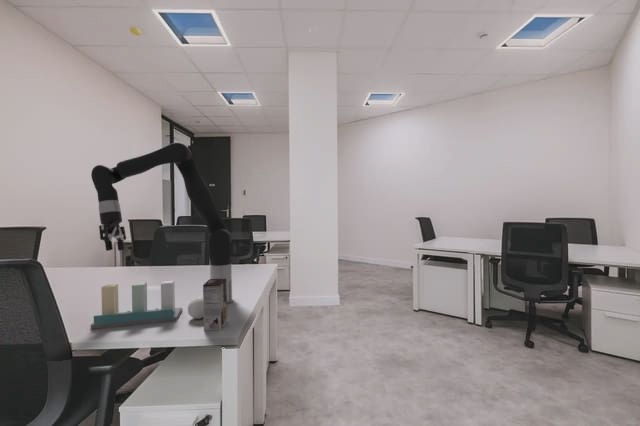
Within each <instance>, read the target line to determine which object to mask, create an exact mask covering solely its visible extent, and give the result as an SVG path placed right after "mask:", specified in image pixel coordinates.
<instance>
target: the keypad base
mask: <svg viewBox="0 0 640 426" xmlns="http://www.w3.org/2000/svg"><path fill="white" fill-rule="evenodd" d="M182 312H183V307H175V311H174V312H173V309H168V310H161V308H154V309H147V311H145V312H133V313H132V310H126V311H125V312H119V314H109V315H102V314H100V315H99V314H98V315H93V323H91V324H90V330H94V329H107V328H116V327H118V328H119V327H127V326H137V325H151V324H159V323H161V324H162V323H169V322H171V323H172V322H177V320H178V319H179V317H180V315H181V314H182Z"/></svg>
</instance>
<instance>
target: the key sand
mask: <svg viewBox="0 0 640 426" xmlns="http://www.w3.org/2000/svg"><path fill="white" fill-rule="evenodd" d="M119 311H120V310H119V284H117V283H116V284H105V285H104V286H102V287H101V315H109V314H119V313H120V312H119Z"/></svg>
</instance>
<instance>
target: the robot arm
mask: <svg viewBox="0 0 640 426" xmlns="http://www.w3.org/2000/svg"><path fill="white" fill-rule="evenodd" d="M167 164H175V166H176V168H177V169H178V171H179V172H180V174H181V176H182V178H183V183H184V186H185V191H186V195H187V196H188V199H189V200H190V201H189V202H191V204H192V206H193V208H194V210H195V211H196V213H197V214H198V215H199V217H200V218H201V219H202V221H203V222H204V223H205V225H206V227H207V229H208V233H209V236H208V257H209V263H210V264H209V266H210V267H209V269H210V270H209V272H210V273H209V275H210V278H209V279H226V285H227V304H229V303H233V279H232V278H233V277H232V254H231V243H232V241H233V240H232V234H231V232H230V231H229V228H228V227H227V226H226V224H225V223H224V221H223V219H222V217H221V216H220V212H219V210H218V207H217V205H216V203H215V200H214V197H213V196H212V193H211V192H210V189H209V188H208V185H207V184H206V182H205V180H204V179H203V177H202V174H201V173H200V171H199V169H198V167H197V165H196V162H195V160H194V156H193V153H192V151H191V149H190V147H188V146H187V145H185V143H182V142H179V141H178V142H172V143H170V144H168V145H166V146H163V147H162V148H159V149H157V150H155V151H152V152H149V153H145V154H143V155H140V156H136V157H132V158H129V159H124V160H121V161H118V163H117V164H116V166H114V167H108V166H106V165H104V164H99V165H98V164H97V165H95V166H94V167H93V168H92V170H91V173H90V174H91V175H90V176H91V181H92V183H93V185H94V188H95V190H96V193H97V202H98V213H99V221H100V224H101V225H98V229H99V230H98V231H99V238H100V239H99V240H101V241H103V242H104V243H105V251H107V252H109V251H112V250H113V249H114V248H113V242H112V239H114V240H116V244H117V251H124V250H125V243H124V242H125V240H127V235H126V230H125V226H123V225H122V226H121V225H120V224H121V223H122V222H123V218H122V211H121V205H120V202H119V195H118V191H117V189H116V188H115V187H114V186H113V184H117V183H119V182H121V181H123V180H125V179H127V178H130V177H133V176H137V175H141V174H143V173H145V172H147V171H150V170H151V169H153V168H156V167H158V166H162V165H167Z"/></svg>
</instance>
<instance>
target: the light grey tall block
mask: <svg viewBox="0 0 640 426" xmlns="http://www.w3.org/2000/svg"><path fill="white" fill-rule="evenodd" d="M175 296H176V294H175V280H169V281H168V280H166V281H162V282H161V283H160V304H161V305H160V306H161V307H160V309H161V310H168V309H173V312H174V311H175V308H176V301H175V300H176V299H175V298H176V297H175Z"/></svg>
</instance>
